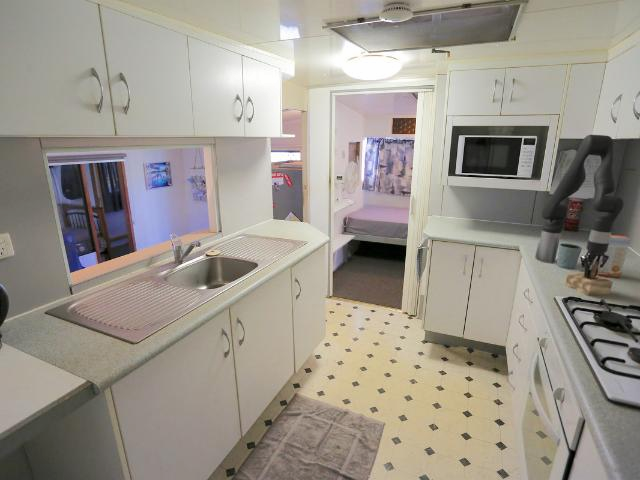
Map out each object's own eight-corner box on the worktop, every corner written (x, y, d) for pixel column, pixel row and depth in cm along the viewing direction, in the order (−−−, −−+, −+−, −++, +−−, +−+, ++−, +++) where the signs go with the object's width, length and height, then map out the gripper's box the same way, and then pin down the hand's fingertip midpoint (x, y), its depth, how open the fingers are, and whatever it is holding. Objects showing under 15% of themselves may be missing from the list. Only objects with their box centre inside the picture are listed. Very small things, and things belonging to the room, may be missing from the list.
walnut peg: (582, 281, 168) (588, 259, 165) (588, 281, 169) (593, 258, 166) (589, 284, 165) (594, 261, 162) (594, 283, 166) (600, 261, 163)
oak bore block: (565, 285, 172) (567, 273, 171) (585, 283, 175) (588, 272, 173) (587, 295, 161) (591, 283, 159) (609, 293, 164) (612, 281, 162)
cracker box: (615, 274, 188) (625, 235, 182) (620, 278, 183) (631, 238, 177) (583, 270, 192) (593, 232, 186) (588, 274, 187) (597, 235, 181)
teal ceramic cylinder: (552, 266, 198) (556, 245, 195) (558, 262, 205) (563, 242, 201) (573, 271, 191) (578, 249, 188) (579, 267, 197) (584, 246, 194)
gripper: (603, 237, 166) (594, 272, 171) (578, 238, 163) (570, 274, 168) (619, 242, 159) (610, 278, 164) (593, 243, 156) (584, 280, 161)
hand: (590, 276), depth 166 cm, fingers closed on walnut peg, 3 cm apart
